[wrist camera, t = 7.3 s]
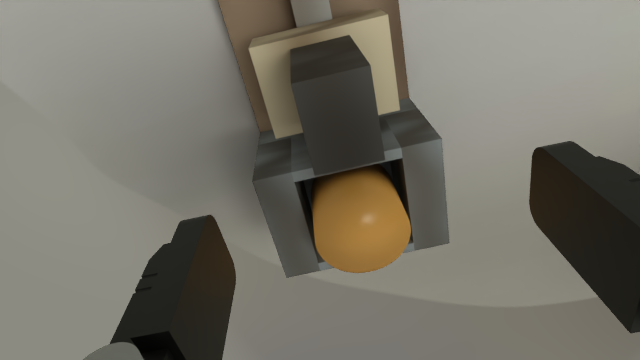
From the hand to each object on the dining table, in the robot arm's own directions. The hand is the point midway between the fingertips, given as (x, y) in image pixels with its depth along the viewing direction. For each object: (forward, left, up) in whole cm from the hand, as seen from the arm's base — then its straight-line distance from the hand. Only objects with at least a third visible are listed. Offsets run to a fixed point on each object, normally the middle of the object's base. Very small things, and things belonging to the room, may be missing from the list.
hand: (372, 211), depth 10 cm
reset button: (0, +7, -12) cm, 14 cm away
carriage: (0, 0, -15) cm, 15 cm away
